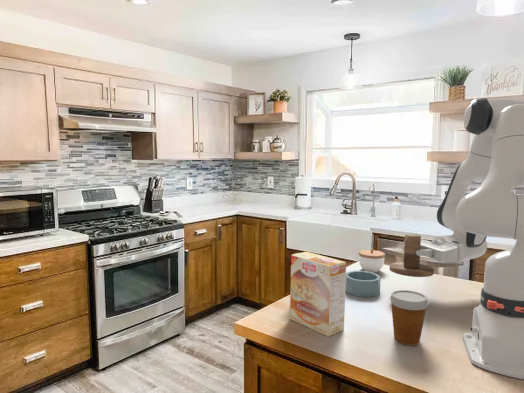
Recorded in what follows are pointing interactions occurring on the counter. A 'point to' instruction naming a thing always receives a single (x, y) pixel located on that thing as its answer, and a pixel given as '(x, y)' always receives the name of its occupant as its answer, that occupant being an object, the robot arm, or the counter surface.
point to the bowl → (362, 283)
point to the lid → (411, 260)
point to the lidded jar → (371, 260)
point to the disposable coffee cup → (408, 315)
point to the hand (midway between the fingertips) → (409, 250)
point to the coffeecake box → (318, 292)
